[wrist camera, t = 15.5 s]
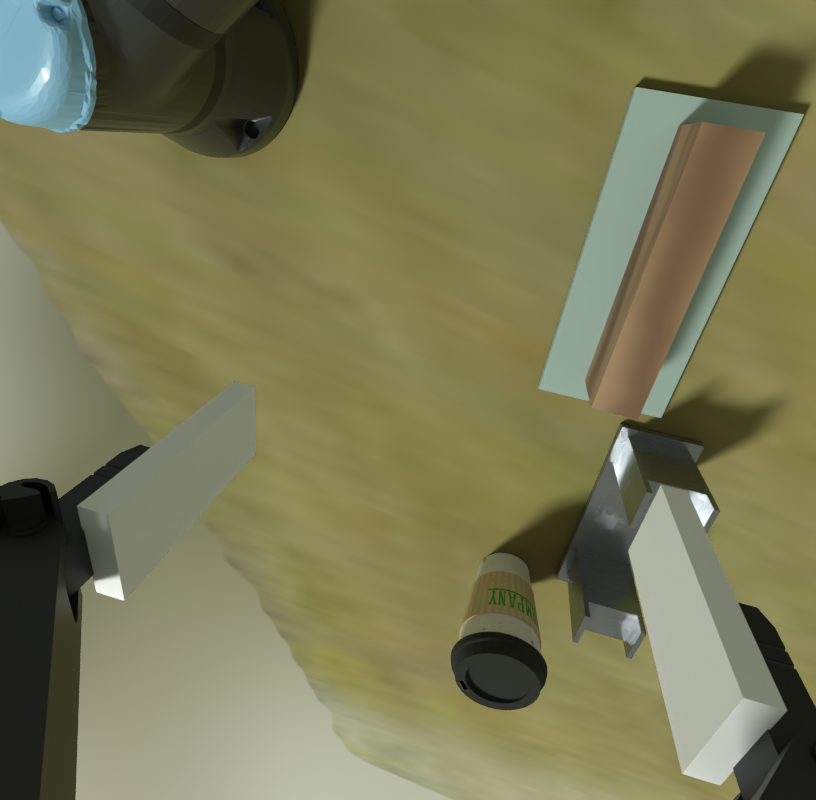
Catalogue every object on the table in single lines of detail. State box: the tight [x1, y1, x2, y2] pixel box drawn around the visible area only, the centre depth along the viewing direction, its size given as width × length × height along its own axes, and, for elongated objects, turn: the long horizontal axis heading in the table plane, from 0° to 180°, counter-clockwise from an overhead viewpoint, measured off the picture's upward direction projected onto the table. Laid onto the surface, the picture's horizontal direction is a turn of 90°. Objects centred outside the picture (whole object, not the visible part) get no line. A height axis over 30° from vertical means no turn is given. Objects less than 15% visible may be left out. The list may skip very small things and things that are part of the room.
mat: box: [539, 87, 804, 418], centre depth 43 cm, size 12×26×1 cm, turn 171°
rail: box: [585, 122, 766, 419], centre depth 40 cm, size 4×22×6 cm, turn 171°
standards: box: [556, 423, 720, 659], centre depth 51 cm, size 8×22×10 cm, turn 171°
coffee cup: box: [451, 553, 547, 710], centre depth 56 cm, size 10×10×15 cm
